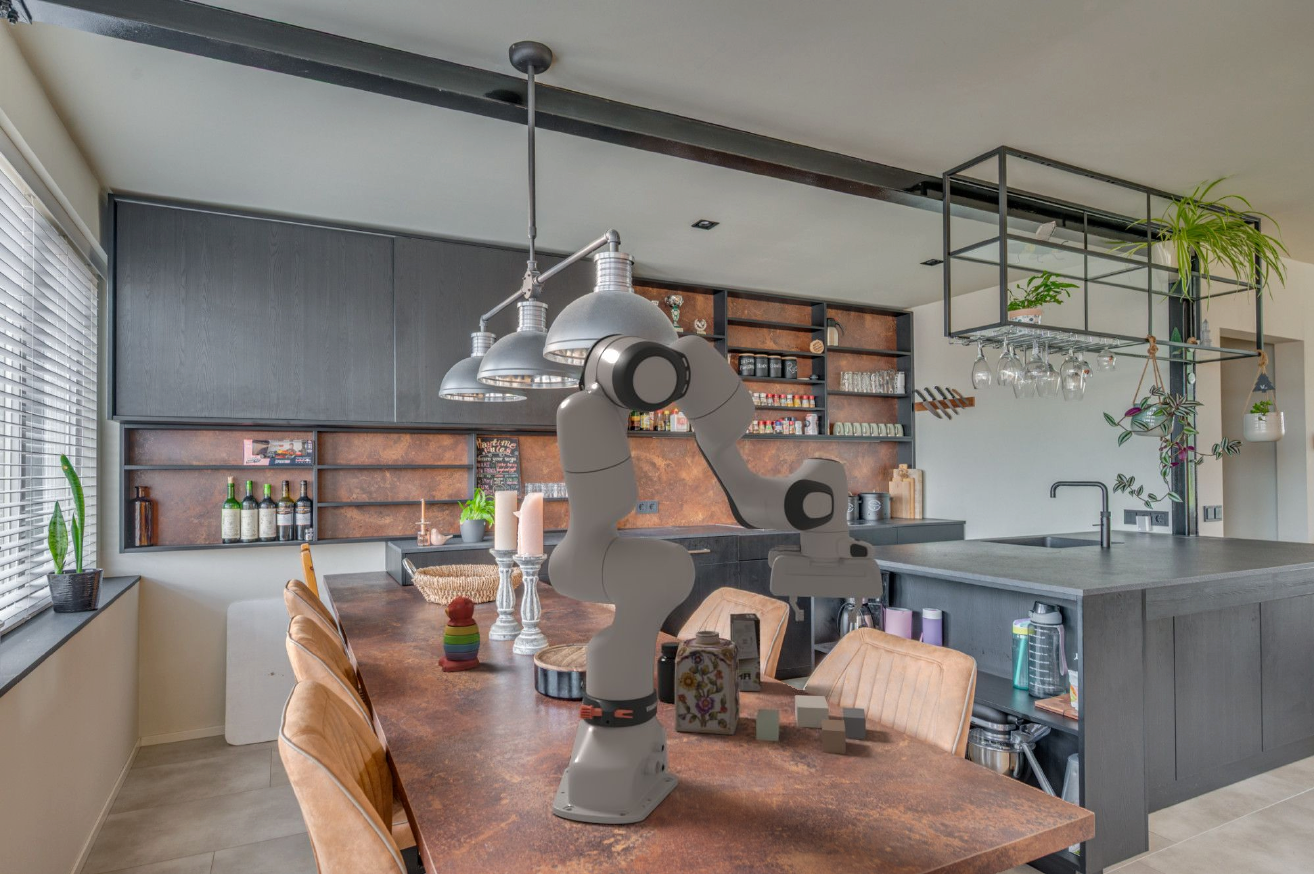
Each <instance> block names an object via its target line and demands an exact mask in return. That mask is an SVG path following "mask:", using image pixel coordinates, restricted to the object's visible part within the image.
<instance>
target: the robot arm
mask: <svg viewBox="0 0 1314 874" xmlns="http://www.w3.org/2000/svg"><path fill="white" fill-rule="evenodd" d="M708 341H709V340H707V339H705V338H703V337H702V336H699V335H694V334H693V335H692V334H691V335H685V336H682V337H679V338H676V339H675V340H674V341H672V342H671V343H669V344H668V346H666V345H665V344H662V343H659V342H656V341H650V340H648V339H645V338H644V337H642V336H638V335H632V334H622V333H612V334H608V335H605V336H602V337H600V338H598V339H597V340H596V341H594V342H593V343H592V344H591V346H590V347H589V348H588V350H587V351H586V354H585V357H584V361H583V363H582V364H583V365H582V366H583V367H582V371H581V374H580V377H579V380H578V389H579V391H577V392H574V393H572V394H570V395H569V396H567V397H566V398H564V399H563V400H562V401H561V402H560V404H559V406H558V407H557V410H556V438H557V447H558V452H559V453H558V454H559V459H560V466H561V469H562V473H563V478H564V483H565V489H566V494H567V495H566V496H567V499H568V506H569V523H568V528H567V531H566V533H565V536H564V537H563V538H562V540H560V542H558V543H557V545H556V546H555V547H554V548H553V551H552V552H551V554H550V556H549V560H548V569H547V573H548V578H549V582H550V585H551V586H552V588H553V590H554V591H555V592H556V593H557V594H559V595H561V596H564V597H566V598H570V599H572V600H575V601H580V602H581V603H592V604H593V603H594V604H604V605H605V604H606V605H614V610H615V611H614V616H613V620H612V621H611V622H612V623H611V625H608V626H605V627H604V628H602V629H600V630H599V631H598V632H596V633H595V634H594V635H593V636H592V637H591V639H590V640H589V642H588V643H587V645H586V650H585V651H586V652H585V655H586V657H585V658H586V659H585V662H586V663H585V666H586V667H585V668H586V669H585V671H586V672H585V674H586V675H585V676H586V677H585V678H586V679H585V682H586V683H585V685H586V686H585V687H586V688H585V690H584V691H583V698H582V701H581V702H582V703H581V705H580V708H579V718H580V721H579V722H578V723H577V726H578V727H577V731H576V734H575V735H576V736H575V739H574V743H573V747H572V752H571V754H570V756H569V764H568V766H567V767H566V768H565V769H564V771H563V773H562V774H563V775H562V777H561V780H560V783H559V786H558V788H557V791H556V794H555V796H554V799H553V802H552V808H551V813H553V814H554V815H556V816H557V817H558V816H559V817H562V818H565V819H567V820H572V821H577V822H585V823H595V824H596V823H597V824H614V825H615V824H617V825H619V824H620V825H621V824H632V823H639V822H641V821H644V820H645V819H646V818H647V817H648V816H649V815H650V814H651V813H652V812H653V811H654V810H655V809H656V808H657V807H658V806H659V805H660V804H661V803H662V801H663V800H664V799H665V798H666V797H667V796H668V795H669V794H670V793H671V792H672V791H673V790H674V789H675V788H676V787H677V786H678V785H679V778H678V776H677V775H676V774H675V773H673V772H670V771H669V762H668V761H669V759H668V743H667V741H668V740H667V739H668V738H667V730H666V728H665V726H664V725H663V724H662V723H661V722H660V720H659V719H658V717H657V713H658V701H659V699H658V690H657V689H656V688H655V665H656V664H655V661H656V660H655V659H656V647H657V642H658V639H659V638H658V636H659V634H660V631H661V629H662V627H663V625H664V623H665V621H666V619H667V618H668V616H669V615H670V614H671V613H672V612H673V611H674V610H675V609H676V608H677V607H678V606H680V605H681V604H682V603H683V602H684V601H686V599H687V598H688V597H689V596H690V594H691V592H692V590H693V588H694V585H695V580H696V569H695V567H696V566H695V563H694V560H693V557H692V555H691V554H690V551H688V549H687V548H686V546H684V545H681V544H679V543H676V542H672V541H668V540H665V539H660V538H655V537H654V538H651V537H650V538H649V537H630V536H627V537H626V536H621V535H620V534H619V531H618V523H619V522H621V521H622V520H623V519H625V518H627V516H629V515H630V514H631V513H632V511H634V509H635V508H636V506H637V503H638V499H639V495H640V494H639V493H640V492H639V487H638V483H637V477H636V472H635V467H634V462H633V457H632V452H631V447H630V441H629V439H628V435H627V434H628V420H629V416H630V414H631V411H633V412H636V413H637V412H638V413H653V412H658V411H661V410H662V409H665V408H667V407H668V406H670V405H671V404H673V403H675V405H676V407H677V408H678V409H679V410H680V412H681V413H682V415H683V416H684V417H685V418H686V420H687V421H688V423H689V424H690V426H691V427H692V429H693V436H694V440H695V443H696V445H697V446H696V447H697V448H698V450H699V452H700V453H701V455H702V457H703V459H704V460H705V463H707V465H708V467H709V469H710V470H711V473H712V474H713V476H714V477H715V478H716V480H717V482H718V483H719V485H720V487H721V488H722V491H723V492H724V494H725V496H726V499H727V502H728V506H729V508H730V512H731V513H732V516H733V518H734V520H735V521H736V523H737V524H739V526H741V527H743V528H744V529H746V530H773V531H783V532H784V531H786V532H787V531H788V532H800V534H799V535H800V536H799V537H800V544H799V545H781V544H780V545H775V547H772V548H771V549H770V550H769V551H768V555H767V563H768V566H769V568H770V569H771V574H770V582H769V583H770V584H769V591H770V593H771V594H772V595H773V596H775V597H789V599H788V600H789V601H788V602H789V604H790V606H791V607H792V609H793V610H794V611H793V612H795V621H796V622H804V620H805V619H804V618H805V616H804V615H805V613H804V611H805V610H804V609H800V608H799V606H798V605H797V603H798V597H807V598H809V597H810V598H811V597H812V598H836V599H838V598H839V599H842V598H843V599H853V602H854V604H855V606H854V607H853V609H852V611H851V610H850V611H847V622H848V624H849V623H850V624H851V623H852V624H856V623H858V622H857V614H858V613H859V611H860V610H861V608H862V606H863V602H864V601H863V599H873V600H874V599H876V600H878V599H880V598H881V596H883V592H884V590H883V581H882V573H881V569H880V566H879V564H878V561H877V560H876V559H875V558H874V557H875V551H876V550H875V546H874V545H872V544H871V543H869V542H867V541H864V540H860V539H858V538H856V537H855V538H854V537H851V536H850V527H849V524H848V519H847V518H848V517H847V516H848V511H849V506H850V505H849V503H850V502H849V486H848V484H849V483H848V477H847V473H846V472H847V471H846V469H845V468H846V467H844V464H842V463H841V462H840V461H838V460H836V459H832V458H831V459H830V458H823V457H808V458H806V459H803V462H802V464H801V466H800V467H799V468H797V470H796V471H794V472H792V473H791V474H789V475H787V476H781V477H780V476H764V475H760V474H758V473H756V472H753V471H752V470H751V469H750V468H749V466H748V464H747V463H746V461H745V459H744V458H743V456H742V453H741V452H740V451H739V448H738V447H737V445H736V443H738V441H739V440H740V439H741V438H743V436H745V434H746V433H747V431H748V430H749V429H750V427H751V425H752V424H753V422H754V417H755V411H756V406H755V405H756V403H755V401H754V399H753V396H752V394H751V392H750V390H749V388H748V387H747V385H746V384H745V383H744V381H743V380H742V378H740V375H738V373H737V372H736V371H735V369H734V368H733V367H732V365H731V364H730V363H729V361H728V360H727V359H725V357H724V356H723V355H722V354H721V353H720V352H719V350H718V349H716V347H714V346H713V345H712V344H711V343H710V342H708Z"/></svg>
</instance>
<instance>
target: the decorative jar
mask: <svg viewBox="0 0 1314 874" xmlns="http://www.w3.org/2000/svg"><path fill="white" fill-rule="evenodd" d="M679 643H680V644H679V647H678V651H677V653H676V659H675V703H674V730H675V731H676V732H683V733H684V732H686V733H699V734H716V735H728V736H729V735H730V736H732V735H734V734H735V732H736V729H737V724H738V722H739V718H740V708H741V707H740V704H741V703H740V700H741V699H740V691H739V661H738V660H739V656H738V655H739V654H738V652H739V651H738V648H737V645H736V643H735V642H732V641H730V639H727V638H723V637H720V632H719V631H717V630H716V631H715V630H701V631H697V632H695V637H693V638H688V639H684V640H683V639H682V641H680V642H679Z"/></svg>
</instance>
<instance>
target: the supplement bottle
mask: <svg viewBox="0 0 1314 874" xmlns="http://www.w3.org/2000/svg"><path fill="white" fill-rule="evenodd" d="M680 643H681V642H679V641H678V642H677V641H667V642H666V641H665V642H663V643H661V645H660V646H661V650H660V653H661V655H660V656H658V658H657V660H656V661H657V662H656V668H657V670H656V672H657V673H656V674H657V677H656V678H657V698H658V701H660V702H663V703H666V704H667V703H668V704H675V659H676V653H677V651H678V647H679V644H680Z"/></svg>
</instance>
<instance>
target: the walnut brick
mask: <svg viewBox="0 0 1314 874" xmlns="http://www.w3.org/2000/svg"><path fill="white" fill-rule="evenodd" d="M821 738H822V739H821V741H822V743H821V744H822V748H821V749H822V753H830V754H831V753H832V754H840V755H841V754H842V755H844V754H846V753H847V751H846V748H847V745H846V738H845V724H844V720H843V719H842V720H839V719H829V720H827V719H822V728H821Z"/></svg>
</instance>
